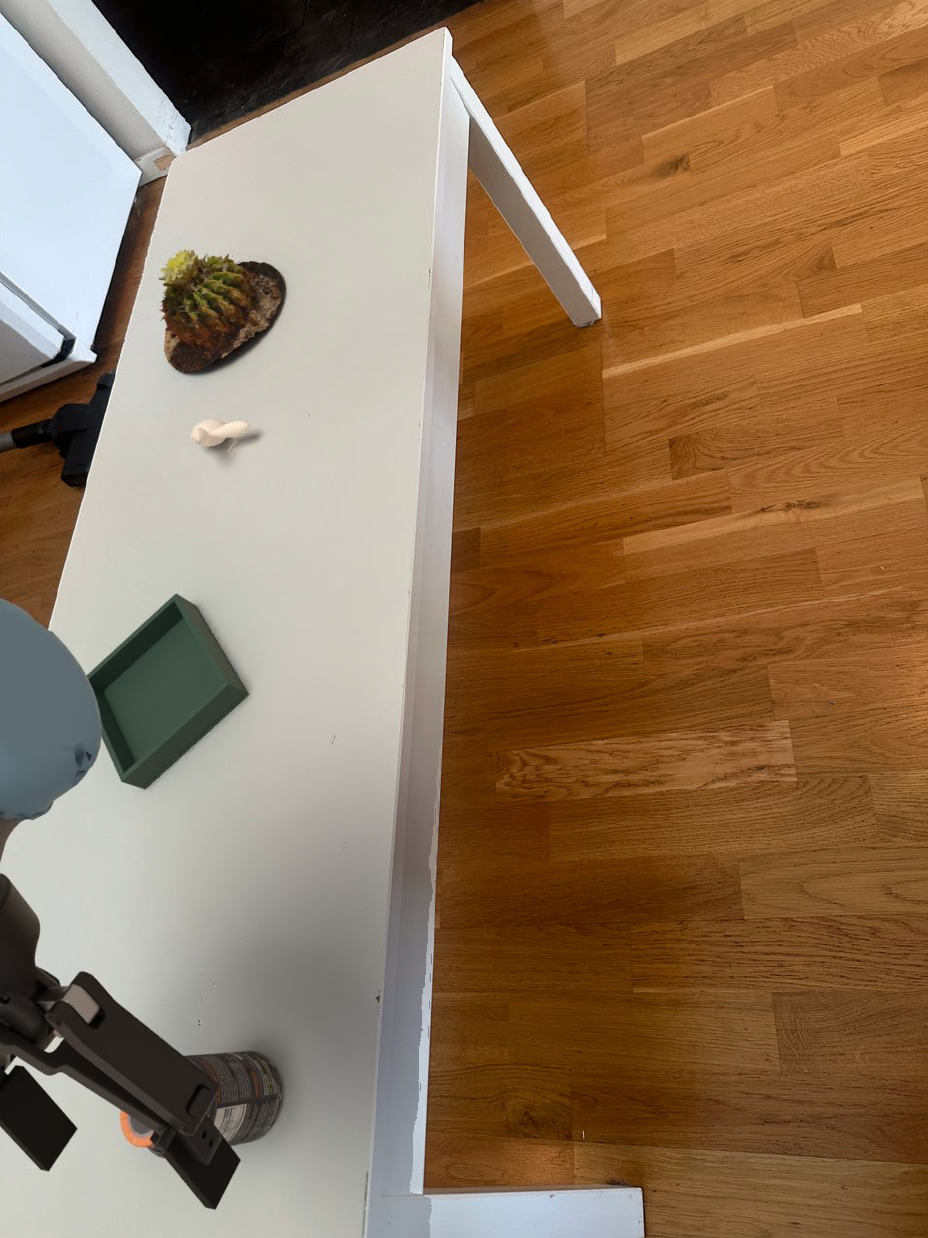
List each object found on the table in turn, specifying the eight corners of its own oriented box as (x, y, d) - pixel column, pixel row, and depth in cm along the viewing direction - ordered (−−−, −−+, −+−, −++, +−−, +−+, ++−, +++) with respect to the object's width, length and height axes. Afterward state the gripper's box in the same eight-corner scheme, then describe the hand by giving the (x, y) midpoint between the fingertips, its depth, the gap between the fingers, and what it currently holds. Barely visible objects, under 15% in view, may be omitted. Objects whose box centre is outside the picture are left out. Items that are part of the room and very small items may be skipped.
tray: (249, 694, 78) (229, 683, 75) (144, 789, 78) (121, 782, 76) (196, 605, 85) (175, 592, 83) (100, 692, 86) (77, 683, 83)
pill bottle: (216, 1058, 65) (107, 1065, 55) (282, 1044, 63) (181, 1049, 54) (218, 1148, 62) (103, 1172, 53) (287, 1136, 60) (181, 1158, 51)
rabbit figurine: (225, 413, 95) (246, 408, 88) (237, 447, 96) (259, 445, 90) (174, 428, 93) (192, 424, 86) (187, 463, 94) (205, 462, 87)
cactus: (265, 243, 105) (215, 178, 97) (302, 315, 97) (251, 250, 89) (157, 323, 108) (99, 267, 100) (183, 400, 99) (123, 345, 91)
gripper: (159, 864, 40) (334, 1131, 49) (-149, 864, 51) (41, 1083, 59) (46, 1004, 34) (269, 1279, 43) (-276, 971, 45) (-44, 1196, 54)
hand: (137, 1165), depth 51 cm, fingers open, 13 cm apart
